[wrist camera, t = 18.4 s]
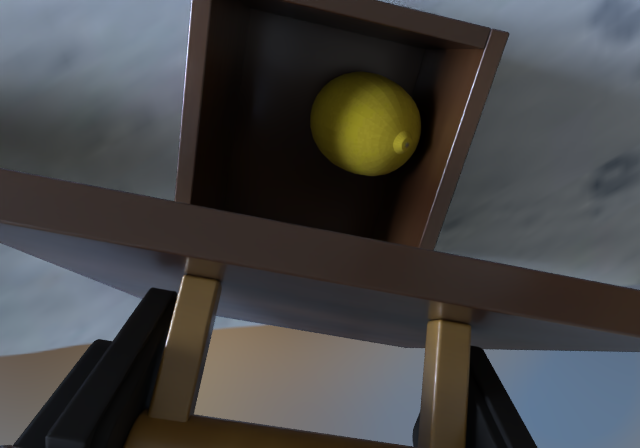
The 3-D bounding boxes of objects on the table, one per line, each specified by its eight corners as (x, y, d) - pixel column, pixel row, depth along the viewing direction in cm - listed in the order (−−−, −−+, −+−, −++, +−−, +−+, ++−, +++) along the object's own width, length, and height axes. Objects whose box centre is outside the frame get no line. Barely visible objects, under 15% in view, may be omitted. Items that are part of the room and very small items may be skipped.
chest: (241, -8, 26) (194, -45, 16) (438, 38, 27) (510, 32, 17) (213, 215, 31) (166, 293, 21) (377, 246, 32) (404, 334, 22)
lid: (-71, 153, 6) (-273, 571, 4) (722, 305, 7) (770, 679, 6) (165, 290, 21) (137, 396, 20) (407, 332, 22) (397, 435, 21)
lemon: (284, 69, 24) (361, 98, 18) (363, 56, 27) (456, 79, 20) (292, 158, 27) (361, 208, 21) (363, 140, 29) (444, 181, 23)
